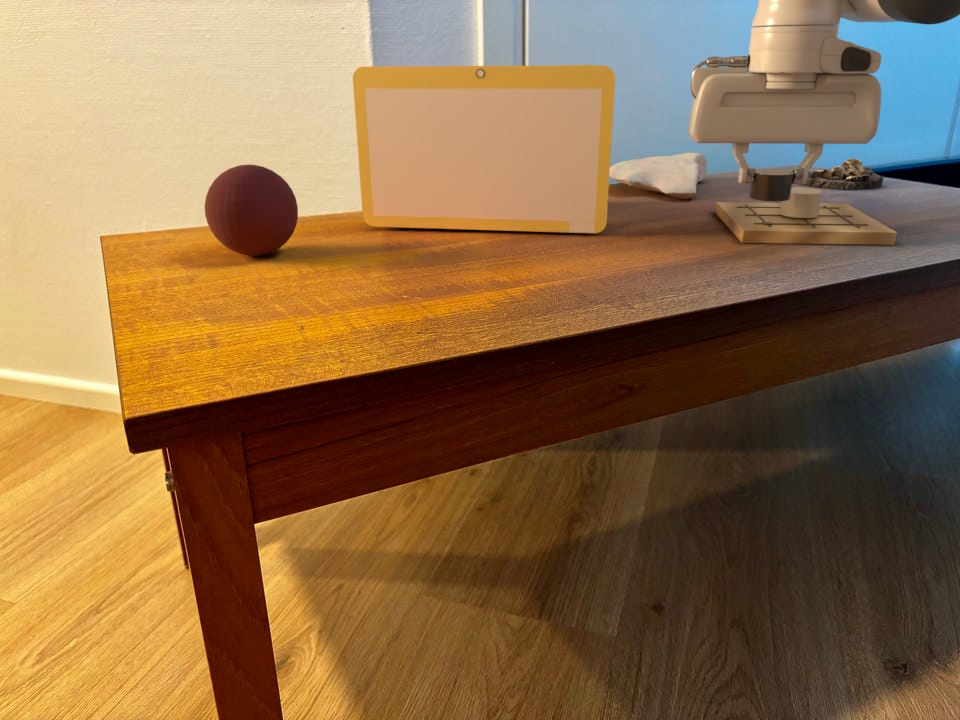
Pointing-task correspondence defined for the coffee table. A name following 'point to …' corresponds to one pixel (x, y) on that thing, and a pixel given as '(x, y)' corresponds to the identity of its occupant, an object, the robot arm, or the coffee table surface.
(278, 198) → the decorative ball
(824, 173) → the grey lumpy piece
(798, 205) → the white stone
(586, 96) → the tablet
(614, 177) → the decorative stone
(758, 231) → the game board
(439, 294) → the coffee table surface
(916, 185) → the coffee table surface
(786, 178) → the black stone
